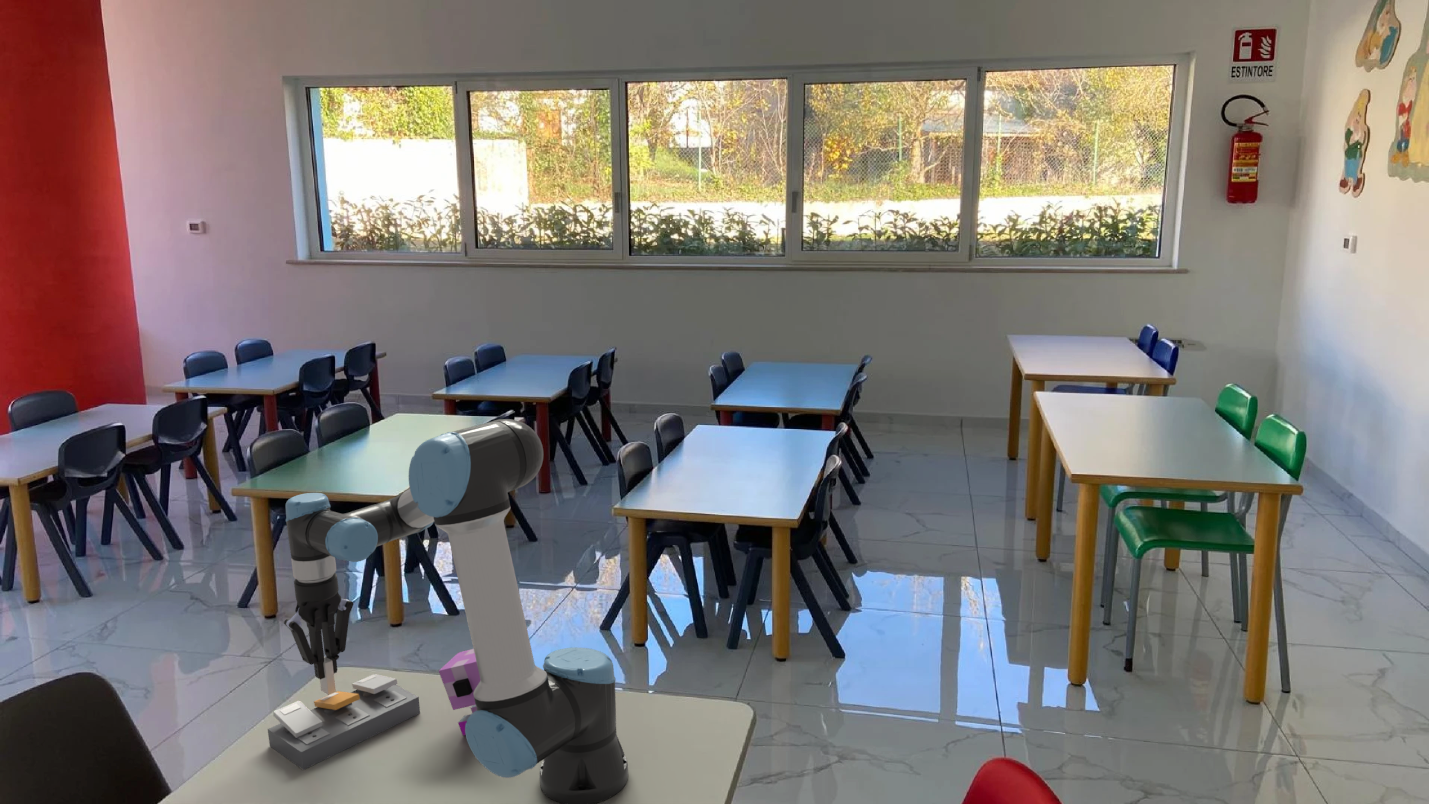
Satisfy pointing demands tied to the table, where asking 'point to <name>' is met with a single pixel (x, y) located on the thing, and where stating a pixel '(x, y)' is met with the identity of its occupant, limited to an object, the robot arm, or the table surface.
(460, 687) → the toy
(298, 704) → the rocker
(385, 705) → the power strip
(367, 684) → the rocker
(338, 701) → the plate
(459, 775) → the table surface
